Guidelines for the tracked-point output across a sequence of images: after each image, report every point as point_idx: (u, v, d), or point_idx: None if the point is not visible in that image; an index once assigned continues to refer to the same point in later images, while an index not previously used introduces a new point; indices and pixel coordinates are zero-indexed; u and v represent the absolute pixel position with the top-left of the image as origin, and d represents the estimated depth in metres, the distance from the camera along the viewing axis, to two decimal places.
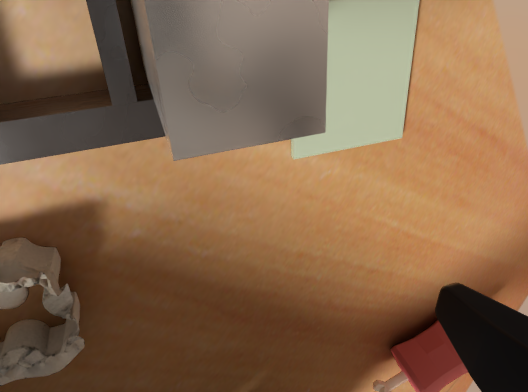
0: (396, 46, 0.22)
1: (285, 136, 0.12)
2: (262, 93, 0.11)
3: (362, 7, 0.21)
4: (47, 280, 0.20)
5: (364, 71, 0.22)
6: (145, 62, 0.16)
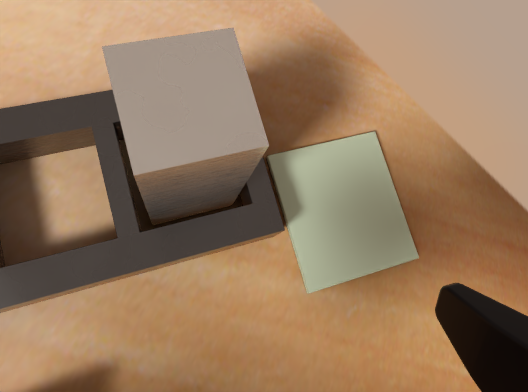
0: (373, 174, 0.25)
1: (233, 150, 0.14)
2: (203, 116, 0.14)
3: (329, 149, 0.25)
4: None
5: (351, 198, 0.24)
6: None
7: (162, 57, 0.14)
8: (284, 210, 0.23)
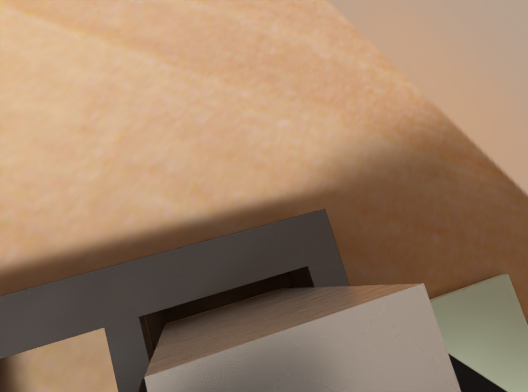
0: (510, 342, 0.17)
1: None
2: None
3: (448, 307, 0.17)
4: None
5: None
6: None
7: (282, 384, 0.06)
8: None
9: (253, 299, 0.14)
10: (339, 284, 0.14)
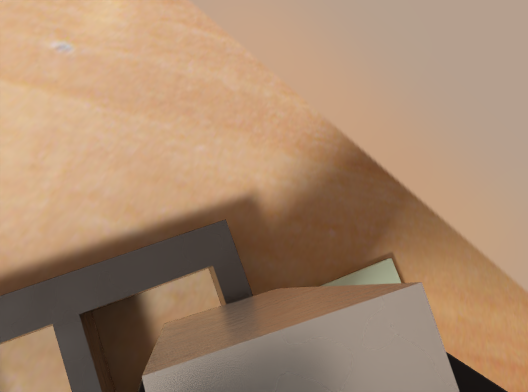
0: None
1: None
2: None
3: None
4: None
5: None
6: None
7: (280, 383, 0.06)
8: None
9: (252, 299, 0.14)
10: (238, 277, 0.18)
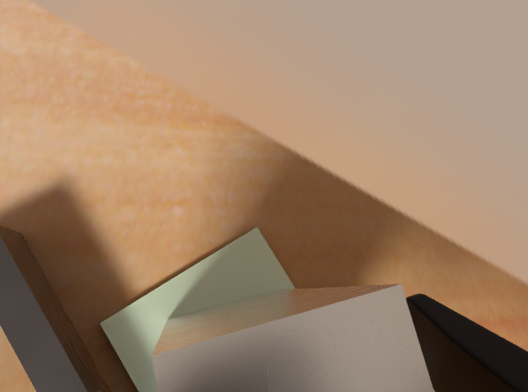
0: None
1: None
2: None
3: (194, 279, 0.17)
4: None
5: None
6: None
7: (271, 368, 0.07)
8: None
9: (251, 298, 0.15)
10: (22, 297, 0.13)
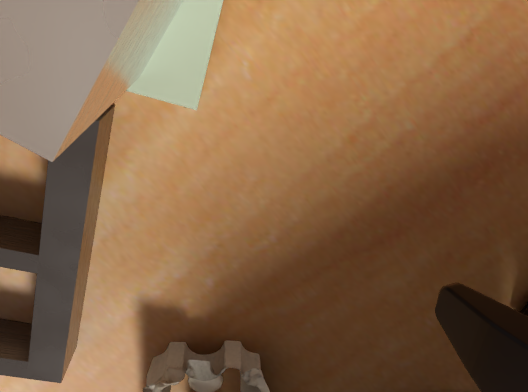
0: None
1: (118, 23, 0.08)
2: (34, 8, 0.07)
3: None
4: (161, 382, 0.22)
5: None
6: None
7: None
8: None
9: None
10: None
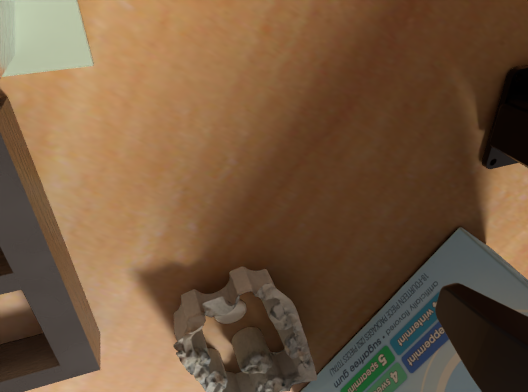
0: None
1: None
2: None
3: None
4: (187, 333, 0.23)
5: None
6: None
7: None
8: None
9: None
10: None
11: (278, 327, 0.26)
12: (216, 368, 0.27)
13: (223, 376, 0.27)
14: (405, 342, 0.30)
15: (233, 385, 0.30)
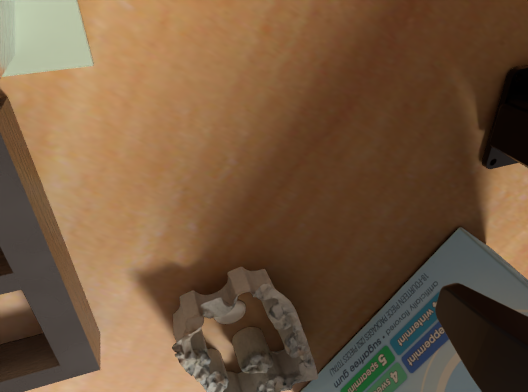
0: None
1: None
2: None
3: None
4: (185, 335, 0.23)
5: None
6: None
7: None
8: None
9: None
10: None
11: (277, 327, 0.26)
12: (216, 368, 0.28)
13: (224, 376, 0.27)
14: (405, 342, 0.30)
15: (234, 385, 0.30)
